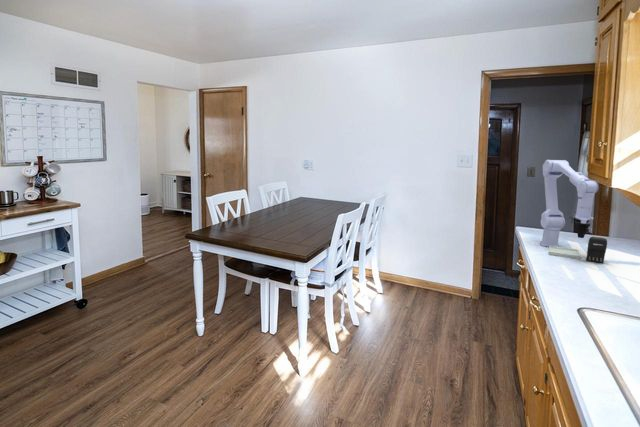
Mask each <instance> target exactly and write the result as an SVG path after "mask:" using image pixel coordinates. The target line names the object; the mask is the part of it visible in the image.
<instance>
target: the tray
mask: <svg viewBox="0 0 640 427" xmlns="http://www.w3.org/2000/svg"><path fill="white" fill-rule="evenodd" d="M548 255H549V256H555V257H560V258H561V257H563V258H569V259H576V260H581V254H580V250H579V249H578V248H571V247H570V248H569V247H562V246H559V247H556V246H549V247H548Z"/></svg>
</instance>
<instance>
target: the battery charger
mask: <svg viewBox="0 0 640 427" xmlns="http://www.w3.org/2000/svg"><path fill="white" fill-rule="evenodd" d="M607 247H608V240H607V238H606V237H601V236H593V235H591V236H590V237H589V238H588V242H587V249H586V250H587V251H586V257H585V259H586V261H588V262H591V263H597V264H598V263H599V264H603V263H604V262H605V256H606V253H607V252H606V251H607Z"/></svg>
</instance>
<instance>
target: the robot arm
mask: <svg viewBox="0 0 640 427" xmlns="http://www.w3.org/2000/svg"><path fill="white" fill-rule="evenodd" d="M563 174H564V175H565V177H568V178H569V182H570V183H571V184H572V185H573V186H574V187H576V191H577V197H578V198H577V205H576V212H575V216H574V221H575V225H576V234H577V238H579V239H585V238H584V237H585V236H586V234H587V233H586V232H587V230H588V229H589V228H590V227H591V223H589V222H590V220H594V217H593V216H592V210H593V205H594V204H593V203H594V197H595V194H596V193H598V191H599V183H598V182H597V181H596V180H590V178H588V177H586V176H585V175H584V173H583V172H582V171H580V172H579V171H576V170H574V169H573V168H572V167H571V166H570V163H569V161H567V160H566V159H562V160H561V159H546V160H545V161H544V163H543V164H542V176H543V180H544V193H545V206H546V208H545V211H543V212H542V213H541V218H540V225H541V227H542V228H543V232H542V238H541V239H542V240H541V241H540V246H541V247H548V248H549V246H556V247H560V246H559V238H560V231H561V230H562V228H564V227H565V225H566V220H565V217H564V213H563V212H562V211H561V210H560V209H559V202H558V188H557V179H558V178H560V177H562V175H563Z"/></svg>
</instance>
